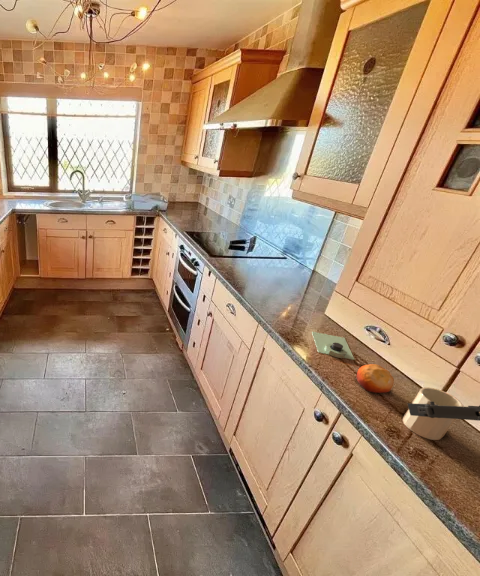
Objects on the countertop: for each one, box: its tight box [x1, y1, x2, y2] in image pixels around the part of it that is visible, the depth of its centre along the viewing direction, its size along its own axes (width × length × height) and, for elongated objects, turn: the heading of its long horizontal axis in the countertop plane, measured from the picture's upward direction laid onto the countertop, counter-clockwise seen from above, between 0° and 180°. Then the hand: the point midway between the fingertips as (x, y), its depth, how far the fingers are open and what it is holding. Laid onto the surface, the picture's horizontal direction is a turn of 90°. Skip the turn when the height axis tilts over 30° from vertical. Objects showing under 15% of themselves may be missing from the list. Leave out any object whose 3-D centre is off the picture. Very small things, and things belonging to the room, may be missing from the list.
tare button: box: [331, 343, 343, 352], centre depth 101 cm, size 3×3×2 cm
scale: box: [311, 331, 356, 361], centre depth 105 cm, size 10×14×3 cm
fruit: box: [354, 363, 395, 394], centre depth 89 cm, size 8×8×8 cm
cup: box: [402, 386, 464, 441], centre depth 75 cm, size 7×7×10 cm
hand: (440, 410), depth 73 cm, fingers open, 13 cm apart
